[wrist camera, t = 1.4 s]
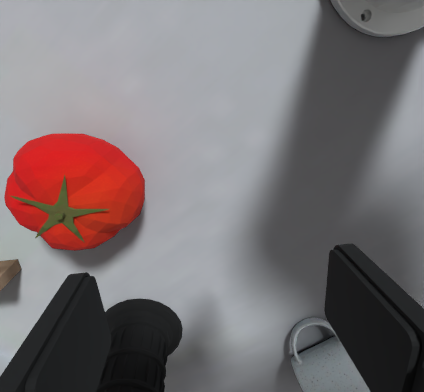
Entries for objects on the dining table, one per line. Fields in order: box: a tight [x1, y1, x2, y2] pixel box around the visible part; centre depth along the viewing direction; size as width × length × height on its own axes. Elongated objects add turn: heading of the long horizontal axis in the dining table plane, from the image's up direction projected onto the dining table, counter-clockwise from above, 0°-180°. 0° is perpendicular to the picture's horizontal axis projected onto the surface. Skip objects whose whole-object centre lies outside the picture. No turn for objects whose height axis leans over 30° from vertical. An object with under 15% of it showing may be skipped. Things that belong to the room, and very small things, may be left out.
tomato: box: [4, 134, 145, 251], centre depth 22 cm, size 9×10×8 cm
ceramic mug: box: [291, 318, 371, 392], centre depth 33 cm, size 11×8×8 cm
